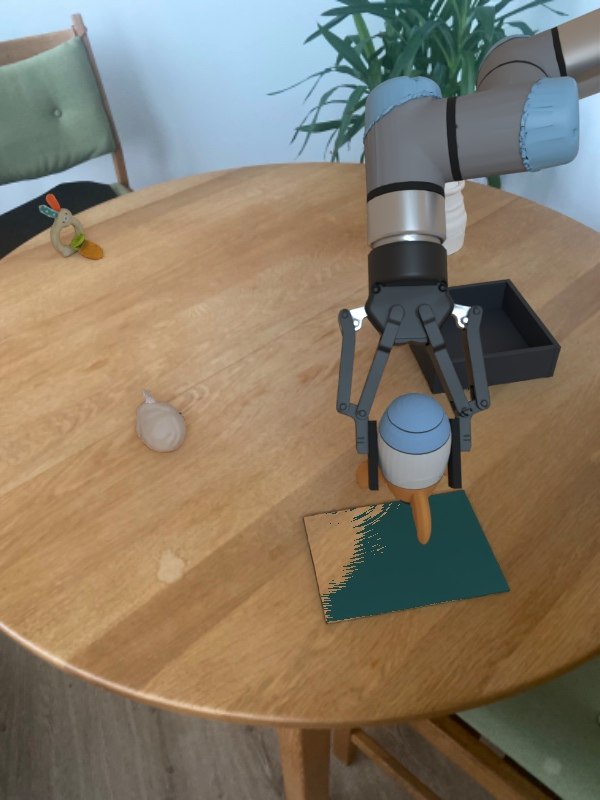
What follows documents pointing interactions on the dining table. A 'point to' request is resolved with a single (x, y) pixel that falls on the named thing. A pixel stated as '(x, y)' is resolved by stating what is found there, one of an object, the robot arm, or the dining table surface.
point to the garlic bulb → (159, 424)
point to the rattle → (64, 220)
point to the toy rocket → (412, 454)
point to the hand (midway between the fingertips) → (414, 488)
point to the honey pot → (454, 216)
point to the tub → (496, 337)
